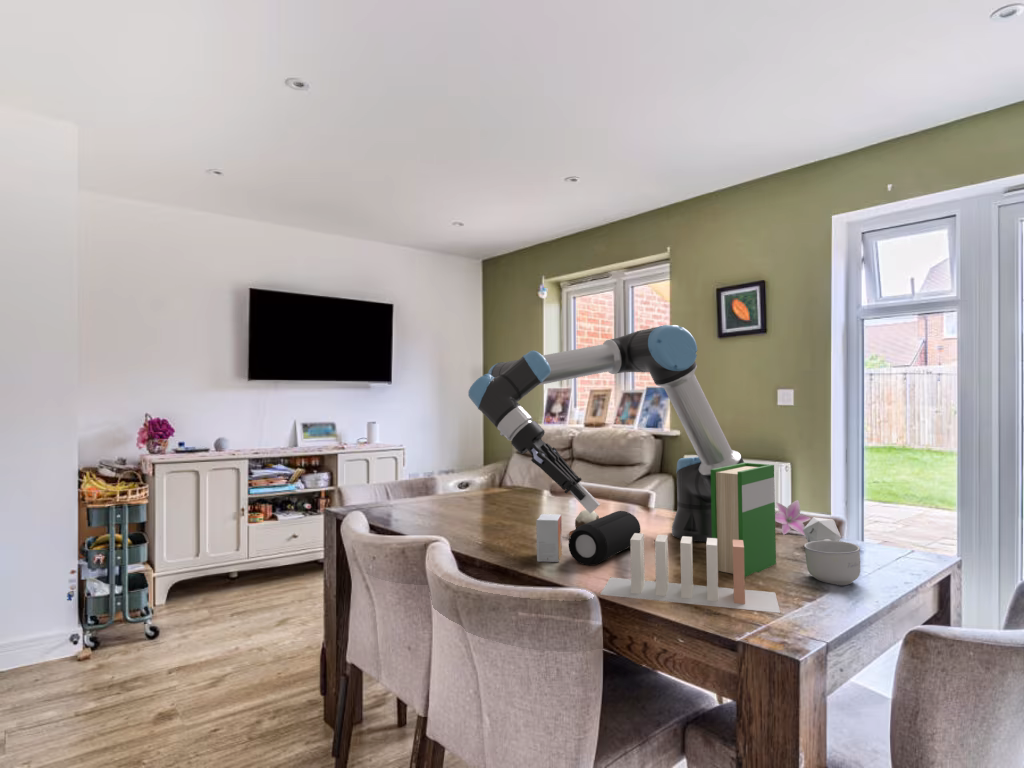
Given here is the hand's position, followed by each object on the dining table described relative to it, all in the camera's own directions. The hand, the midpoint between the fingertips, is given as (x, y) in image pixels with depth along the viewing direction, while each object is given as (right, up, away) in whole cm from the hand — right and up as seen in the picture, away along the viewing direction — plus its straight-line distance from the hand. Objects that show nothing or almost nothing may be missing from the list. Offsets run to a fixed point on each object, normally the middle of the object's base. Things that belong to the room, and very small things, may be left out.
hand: (595, 508), depth 129 cm
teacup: (+53, -17, +3) cm, 56 cm away
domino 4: (+23, -16, -8) cm, 29 cm away
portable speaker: (+7, -18, +25) cm, 31 cm away
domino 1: (+9, -16, -3) cm, 19 cm away
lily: (+65, -17, +48) cm, 82 cm away
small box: (-8, -18, +23) cm, 30 cm away
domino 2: (+13, -16, -5) cm, 21 cm away
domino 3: (+18, -16, -6) cm, 25 cm away
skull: (+5, -18, +48) cm, 52 cm away
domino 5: (+27, -16, -10) cm, 33 cm away
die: (+65, -17, +30) cm, 73 cm away
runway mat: (+18, -17, -6) cm, 25 cm away
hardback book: (+37, -17, +12) cm, 43 cm away
